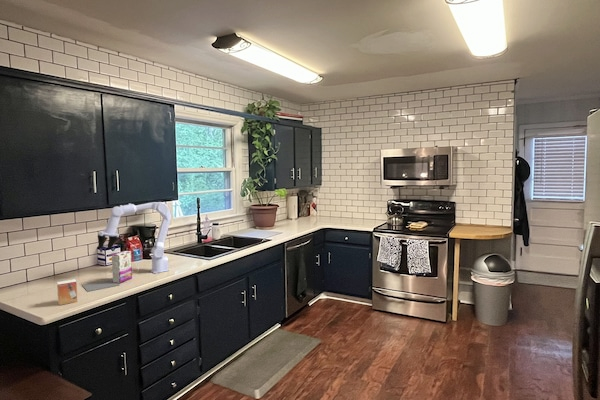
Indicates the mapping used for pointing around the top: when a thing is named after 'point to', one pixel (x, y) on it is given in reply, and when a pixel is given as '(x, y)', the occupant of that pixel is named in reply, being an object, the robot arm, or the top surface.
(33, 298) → the top surface
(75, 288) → the small box
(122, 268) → the candy bar box
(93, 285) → the mat
